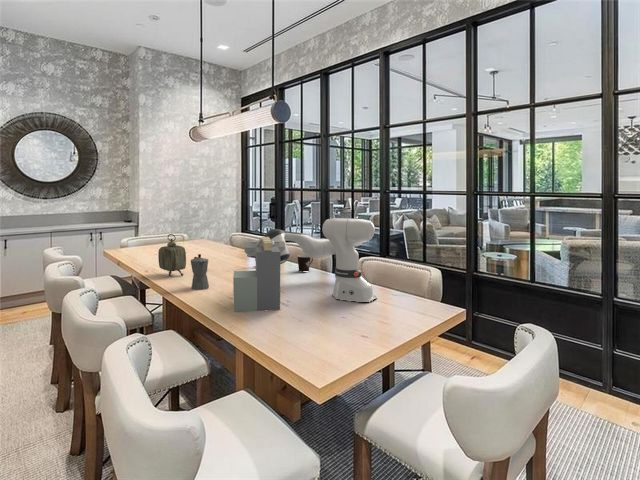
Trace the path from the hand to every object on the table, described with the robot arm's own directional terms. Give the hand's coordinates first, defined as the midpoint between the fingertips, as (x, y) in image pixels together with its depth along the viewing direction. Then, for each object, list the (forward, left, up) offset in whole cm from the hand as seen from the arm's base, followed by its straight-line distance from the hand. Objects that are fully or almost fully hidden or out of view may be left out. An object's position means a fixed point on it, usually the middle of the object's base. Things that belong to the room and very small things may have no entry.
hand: (265, 240), depth 189 cm
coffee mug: (+22, -64, -29) cm, 73 cm away
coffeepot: (+43, +4, -29) cm, 52 cm away
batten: (-4, +4, -2) cm, 7 cm away
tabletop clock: (+77, -4, -29) cm, 82 cm away
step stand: (-4, +11, -28) cm, 31 cm away
